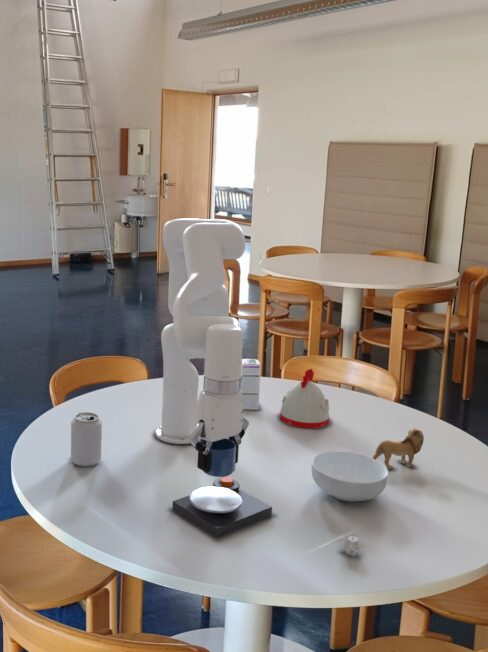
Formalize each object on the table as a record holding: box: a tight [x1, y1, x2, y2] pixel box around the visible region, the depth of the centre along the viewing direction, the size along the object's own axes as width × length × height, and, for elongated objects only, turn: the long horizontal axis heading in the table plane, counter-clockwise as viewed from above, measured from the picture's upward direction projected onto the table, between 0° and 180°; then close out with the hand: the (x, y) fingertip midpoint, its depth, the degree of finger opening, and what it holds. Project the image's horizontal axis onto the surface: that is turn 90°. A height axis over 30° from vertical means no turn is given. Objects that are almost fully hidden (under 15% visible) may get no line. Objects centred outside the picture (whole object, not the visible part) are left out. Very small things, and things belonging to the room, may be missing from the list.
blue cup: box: [202, 438, 236, 478], centre depth 149 cm, size 7×7×6 cm
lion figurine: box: [372, 428, 425, 470], centre depth 179 cm, size 15×5×9 cm, turn 110°
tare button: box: [220, 476, 234, 487], centre depth 159 cm, size 3×3×1 cm
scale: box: [171, 477, 273, 539], centre depth 153 cm, size 16×14×4 cm
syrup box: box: [240, 358, 261, 411], centre depth 217 cm, size 6×6×14 cm
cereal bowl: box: [311, 450, 389, 503], centre depth 162 cm, size 17×17×7 cm
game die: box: [342, 535, 362, 557], centre depth 139 cm, size 4×4×3 cm
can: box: [70, 411, 103, 467], centre depth 175 cm, size 8×8×12 cm
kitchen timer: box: [279, 368, 330, 429], centre depth 208 cm, size 14×14×15 cm
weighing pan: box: [189, 486, 242, 513], centre depth 151 cm, size 11×11×1 cm
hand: (217, 464), depth 149 cm, fingers closed on blue cup, 7 cm apart
